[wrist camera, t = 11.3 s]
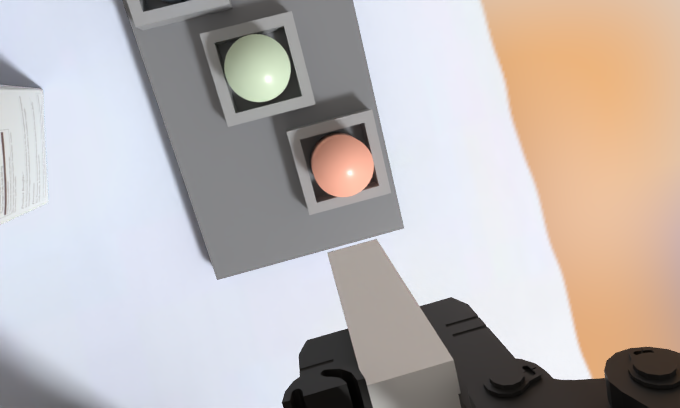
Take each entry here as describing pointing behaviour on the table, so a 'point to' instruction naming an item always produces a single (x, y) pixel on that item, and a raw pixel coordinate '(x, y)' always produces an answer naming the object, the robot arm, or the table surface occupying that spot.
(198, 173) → the panel
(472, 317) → the robot arm
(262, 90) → the sage button
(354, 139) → the coral button
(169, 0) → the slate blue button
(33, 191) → the supplement box
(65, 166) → the table surface
